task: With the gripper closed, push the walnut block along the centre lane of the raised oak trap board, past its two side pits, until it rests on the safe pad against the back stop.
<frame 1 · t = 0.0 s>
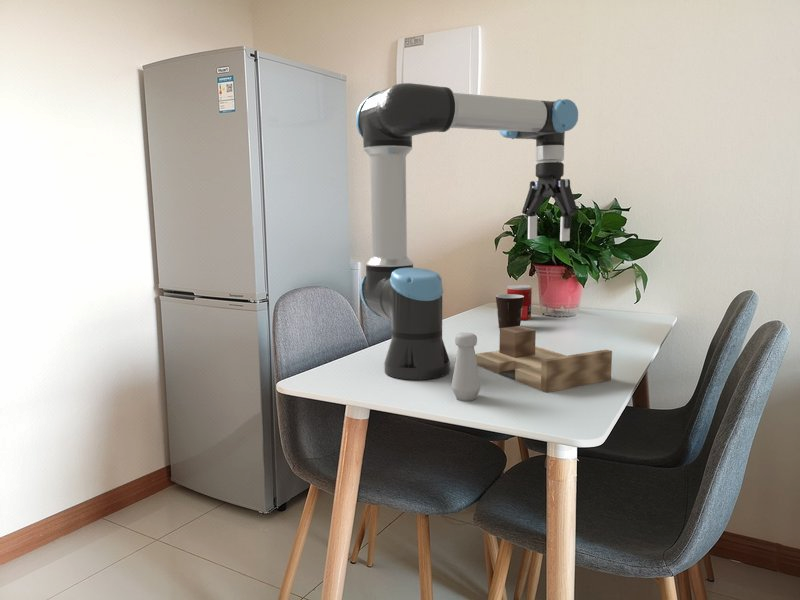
hand: (547, 240, 170), 28 cm above the table, fingers open, 13 cm apart
salt shaker: (465, 398, 121), on the table
coffee mug: (506, 329, 188), on the table
walnut block: (517, 353, 146), point 2 cm above the table, touching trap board
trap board: (538, 371, 139), on the table
canned food: (518, 319, 205), on the table
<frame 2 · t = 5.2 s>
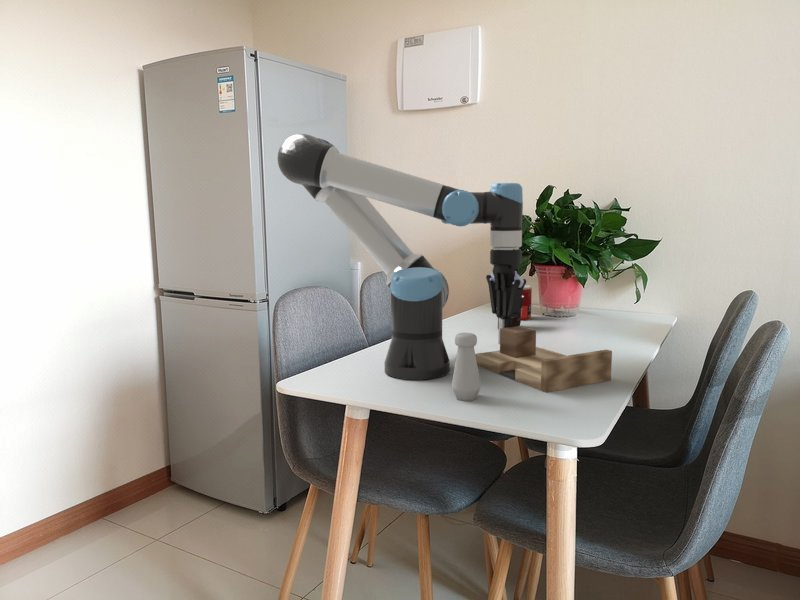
hand: (504, 343, 150), 4 cm above the table, fingers closed
walnut block: (517, 353, 145), point 3 cm above the table, touching gripper
everything else where it was.
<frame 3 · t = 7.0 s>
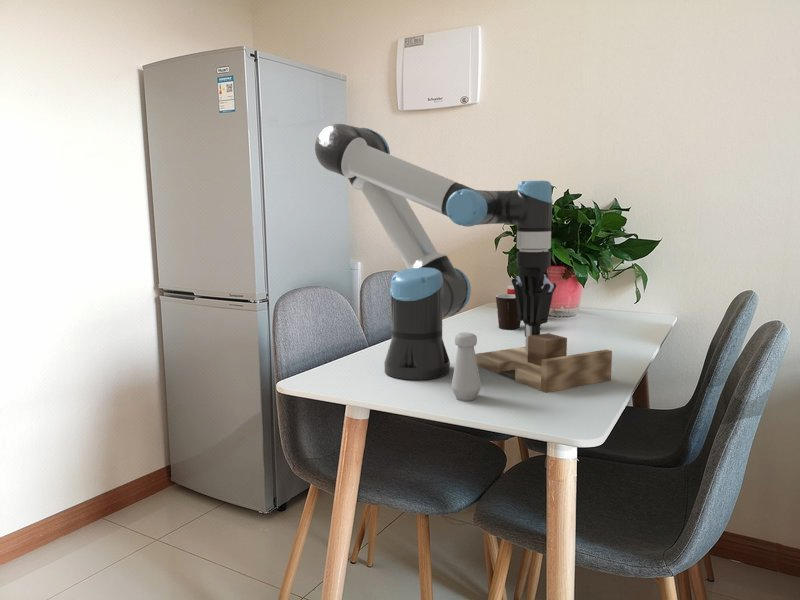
hand: (531, 351, 141), 4 cm above the table, fingers closed
walnut block: (546, 363, 137), point 3 cm above the table, touching gripper, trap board
everything else where it was.
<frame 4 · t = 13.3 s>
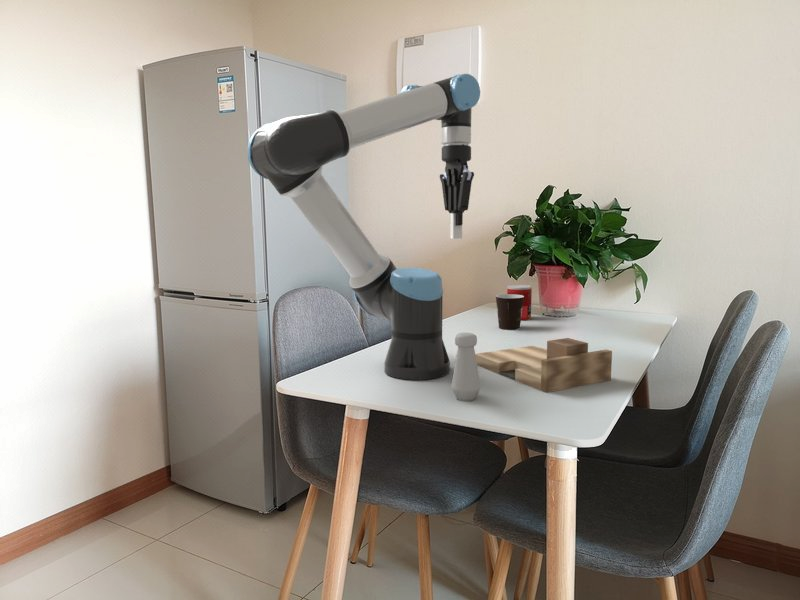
hand: (456, 238, 158), 29 cm above the table, fingers closed
walnut block: (566, 369, 131), point 2 cm above the table, touching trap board
everything else where it was.
at the end: walnut block 1.1 cm from the target spot on the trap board, point 2.5 cm above the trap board's base; walnut block tilted 0° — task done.
